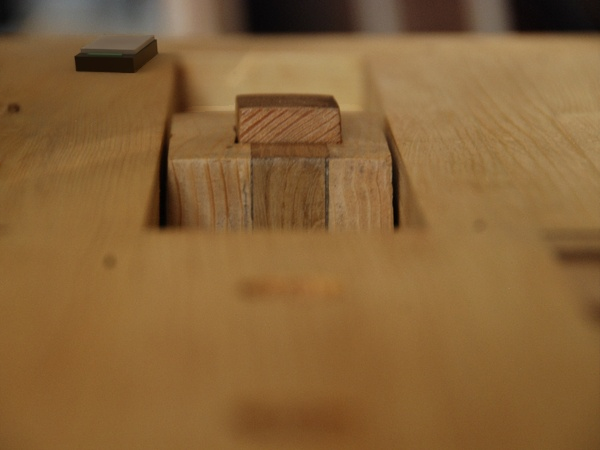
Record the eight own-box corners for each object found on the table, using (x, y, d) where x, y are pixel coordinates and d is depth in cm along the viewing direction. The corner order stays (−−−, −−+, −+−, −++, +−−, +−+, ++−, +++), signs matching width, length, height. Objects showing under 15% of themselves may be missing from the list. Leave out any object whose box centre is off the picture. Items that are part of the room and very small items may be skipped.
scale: (75, 71, 130) (73, 51, 129) (104, 51, 143) (102, 33, 142) (134, 72, 129) (132, 52, 128) (157, 53, 142) (156, 34, 141)
